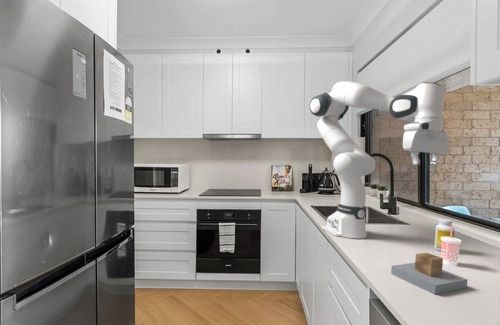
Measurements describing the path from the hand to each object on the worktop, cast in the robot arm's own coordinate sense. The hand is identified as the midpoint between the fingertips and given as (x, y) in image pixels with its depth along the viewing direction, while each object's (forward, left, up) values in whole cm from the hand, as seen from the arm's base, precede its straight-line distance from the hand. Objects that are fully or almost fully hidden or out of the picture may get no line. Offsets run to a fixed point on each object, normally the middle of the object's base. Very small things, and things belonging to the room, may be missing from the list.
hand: (425, 164), depth 103 cm
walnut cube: (+14, -15, -33) cm, 38 cm away
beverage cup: (+6, +8, -35) cm, 37 cm away
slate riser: (+14, -15, -35) cm, 41 cm away
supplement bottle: (-5, +22, -35) cm, 42 cm away
